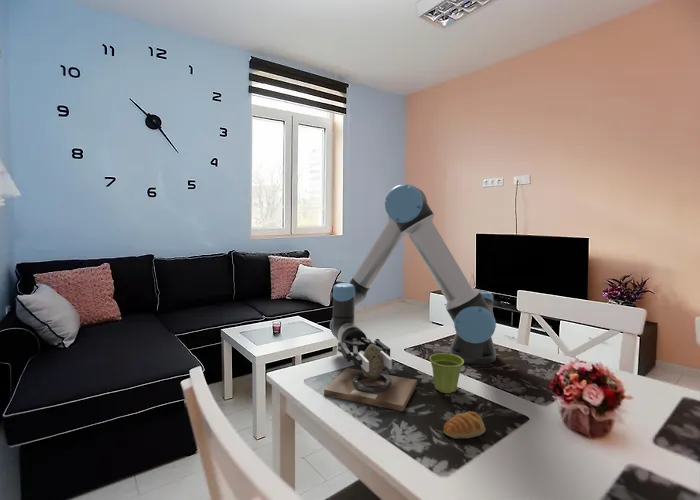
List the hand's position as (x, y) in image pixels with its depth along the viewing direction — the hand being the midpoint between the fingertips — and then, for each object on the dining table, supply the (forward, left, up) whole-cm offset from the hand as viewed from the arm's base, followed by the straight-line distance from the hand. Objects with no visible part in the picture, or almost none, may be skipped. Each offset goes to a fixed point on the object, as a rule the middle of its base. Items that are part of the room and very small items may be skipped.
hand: (379, 365), depth 103 cm
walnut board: (+3, -4, -9) cm, 10 cm away
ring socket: (+3, -4, -8) cm, 9 cm away
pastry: (-23, +7, -10) cm, 26 cm away
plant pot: (-16, -13, -9) cm, 22 cm away
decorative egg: (+3, -4, -6) cm, 8 cm away
